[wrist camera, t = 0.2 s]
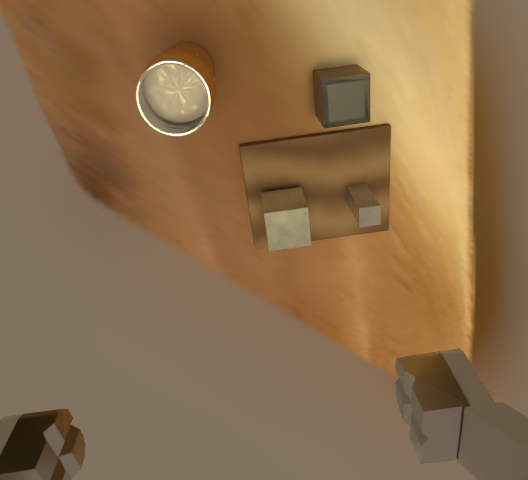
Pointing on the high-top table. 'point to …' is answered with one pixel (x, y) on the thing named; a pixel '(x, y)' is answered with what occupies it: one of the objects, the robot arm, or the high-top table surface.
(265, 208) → the pale green block
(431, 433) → the robot arm
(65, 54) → the high-top table surface
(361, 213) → the steel post
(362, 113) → the dark grey paneled cube
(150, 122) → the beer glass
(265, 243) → the walnut board
